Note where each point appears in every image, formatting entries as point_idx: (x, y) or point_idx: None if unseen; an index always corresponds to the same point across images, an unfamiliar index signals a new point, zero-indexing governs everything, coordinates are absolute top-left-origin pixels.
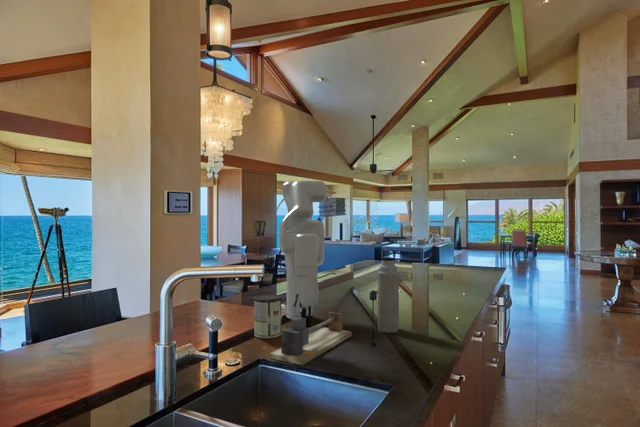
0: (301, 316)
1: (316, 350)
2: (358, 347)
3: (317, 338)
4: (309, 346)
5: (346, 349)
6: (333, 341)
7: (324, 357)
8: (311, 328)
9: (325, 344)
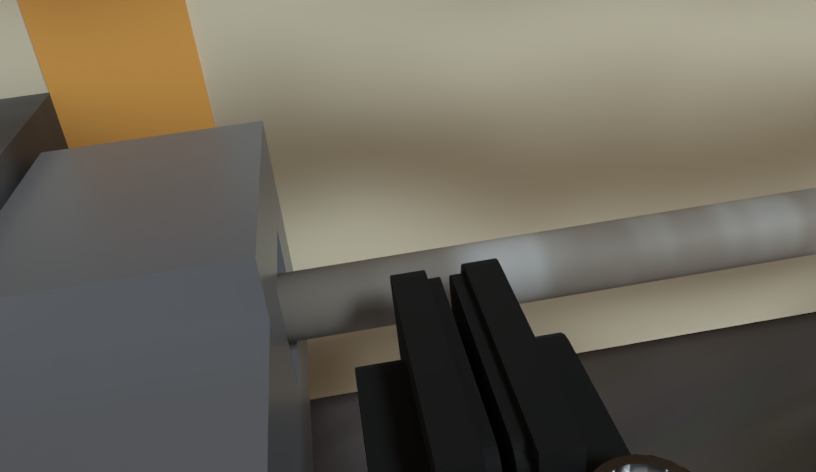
0: (434, 454)
1: (335, 371)
2: (758, 463)
3: (769, 89)
4: (405, 225)
5: (657, 427)
6: (728, 316)
7: (334, 421)
8: (608, 284)
9: (584, 315)
